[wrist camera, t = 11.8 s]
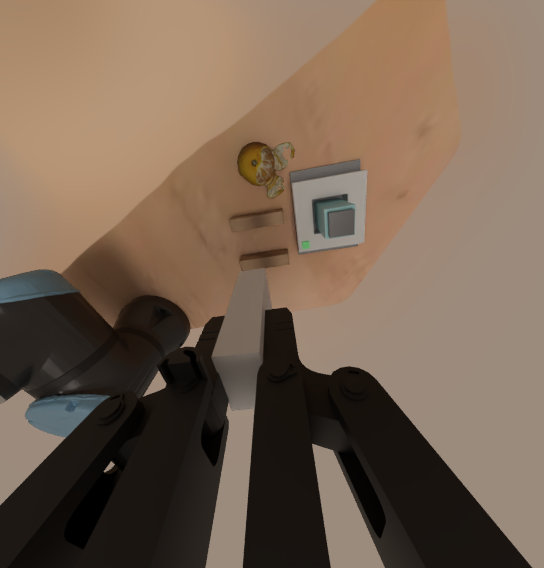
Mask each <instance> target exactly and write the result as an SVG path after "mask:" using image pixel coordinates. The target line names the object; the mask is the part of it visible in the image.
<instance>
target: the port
mask: <svg viewBox="0 0 544 568" xmlns="http://www.w3.org/2000/svg"><path fill="white" fill-rule="evenodd" d="M290 180H291V190H292V199H293V208H294V217H295V226H296V235H297V244H298V253H299V254H306V253H313V252H320V251H327V250H333V249H340V248H347V247H354V246H358V244H360V243H364V234H365V212H366V189H367V170H360V159H359V160H354V161H349V162H343V163H338V164H333V165H327V166H322V167H316V168H311V169H306V170H300V171H295V172H290ZM333 198H340V199H342V200H345V201H348V202H350V203H353V204H356V207H355V235H351V236H345V237H338V238H331V239H325V238H324V237H323V235H322V234H321V233H320V231H319V230H318V228H317V227H316V226H315V213H314V202H315V201H321V200H327V199H333Z"/></svg>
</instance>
